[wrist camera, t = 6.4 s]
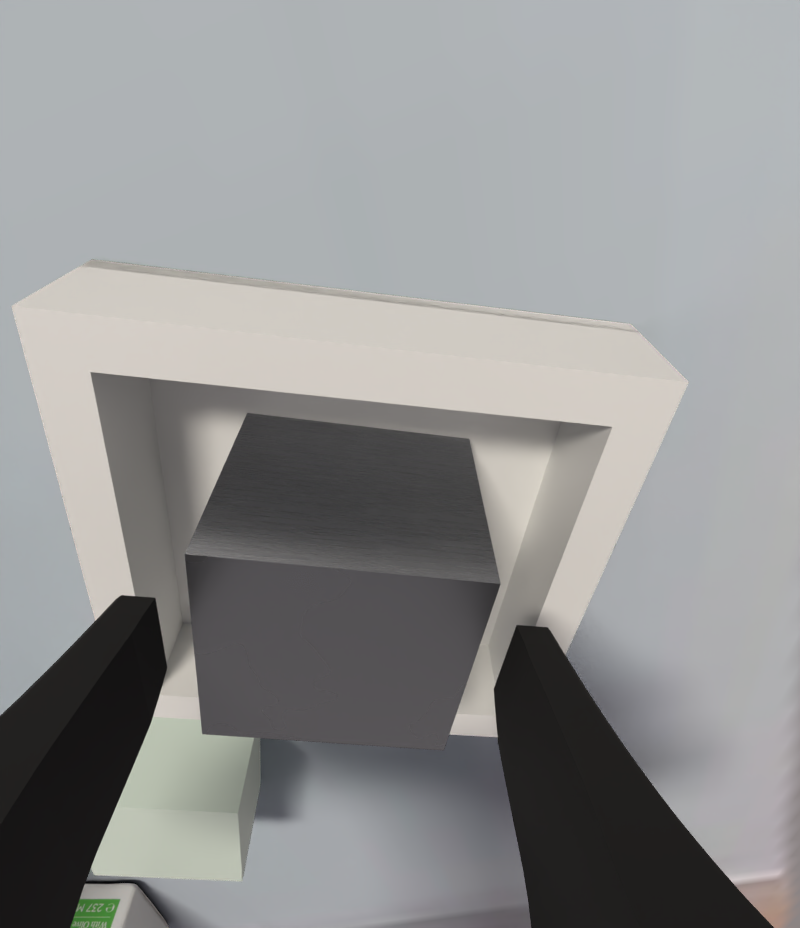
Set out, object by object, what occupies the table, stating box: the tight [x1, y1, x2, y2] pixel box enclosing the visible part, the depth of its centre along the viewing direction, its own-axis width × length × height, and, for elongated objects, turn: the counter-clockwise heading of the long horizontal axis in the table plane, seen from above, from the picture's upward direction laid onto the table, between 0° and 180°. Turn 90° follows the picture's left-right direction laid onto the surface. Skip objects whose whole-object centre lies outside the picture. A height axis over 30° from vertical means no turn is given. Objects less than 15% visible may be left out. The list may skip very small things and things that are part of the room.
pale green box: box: [91, 717, 261, 881], centre depth 19 cm, size 5×5×4 cm
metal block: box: [185, 413, 501, 750], centre depth 12 cm, size 5×5×4 cm
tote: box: [12, 259, 689, 737], centre depth 13 cm, size 11×11×3 cm
